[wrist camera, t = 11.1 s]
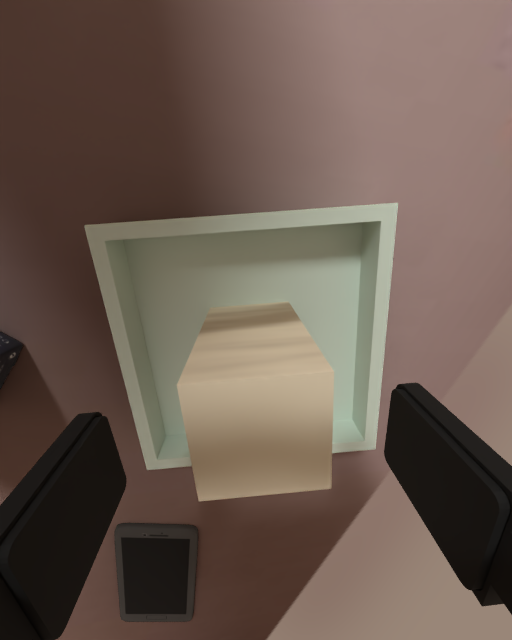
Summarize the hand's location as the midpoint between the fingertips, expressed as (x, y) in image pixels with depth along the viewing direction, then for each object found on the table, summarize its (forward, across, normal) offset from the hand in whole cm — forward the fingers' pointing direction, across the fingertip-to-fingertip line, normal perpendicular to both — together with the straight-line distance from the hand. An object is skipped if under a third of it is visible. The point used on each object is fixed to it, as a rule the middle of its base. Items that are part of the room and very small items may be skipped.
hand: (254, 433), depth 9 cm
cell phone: (+10, +11, +25) cm, 29 cm away
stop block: (+9, 0, +1) cm, 9 cm away
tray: (+10, 0, +1) cm, 10 cm away
